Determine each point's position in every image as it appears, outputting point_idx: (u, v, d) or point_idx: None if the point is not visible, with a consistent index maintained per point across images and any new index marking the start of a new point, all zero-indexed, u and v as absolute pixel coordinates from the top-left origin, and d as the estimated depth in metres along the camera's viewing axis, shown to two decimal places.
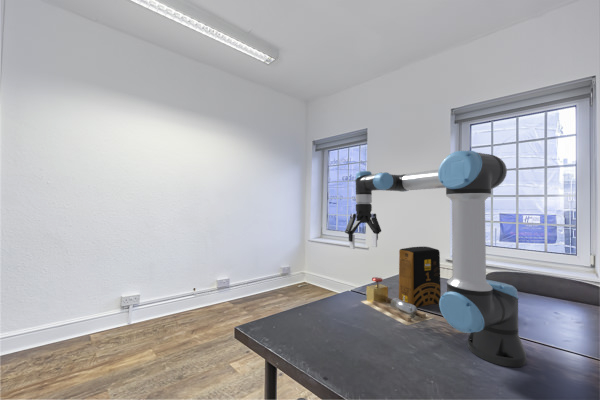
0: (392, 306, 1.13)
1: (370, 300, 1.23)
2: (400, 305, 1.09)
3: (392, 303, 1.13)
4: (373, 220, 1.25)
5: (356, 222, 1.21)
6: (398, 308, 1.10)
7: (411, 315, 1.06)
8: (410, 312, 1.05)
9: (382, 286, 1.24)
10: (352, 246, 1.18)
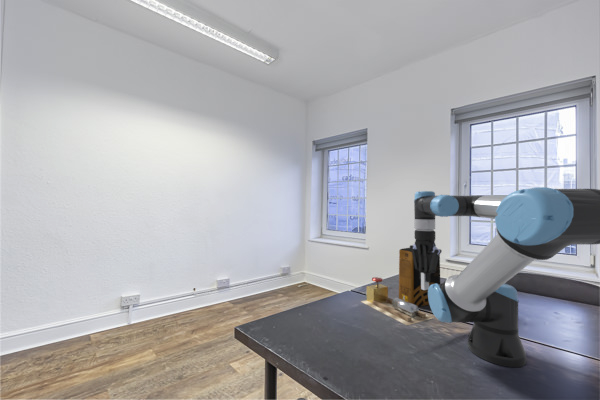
0: (393, 304, 1.13)
1: (370, 300, 1.23)
2: (403, 303, 1.10)
3: (394, 301, 1.14)
4: None
5: None
6: (400, 306, 1.10)
7: (412, 314, 1.06)
8: (411, 310, 1.06)
9: (382, 286, 1.24)
10: None
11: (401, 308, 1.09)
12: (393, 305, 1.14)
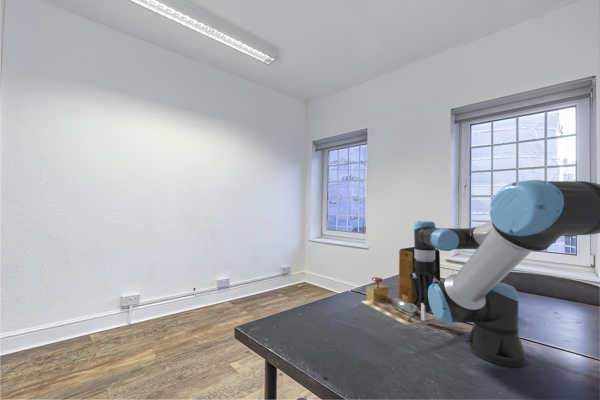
0: (393, 304, 1.13)
1: (370, 300, 1.23)
2: (403, 303, 1.10)
3: (394, 301, 1.14)
4: None
5: None
6: (399, 306, 1.10)
7: (412, 314, 1.06)
8: (411, 310, 1.06)
9: (382, 286, 1.24)
10: None
11: (401, 308, 1.09)
12: (393, 305, 1.14)
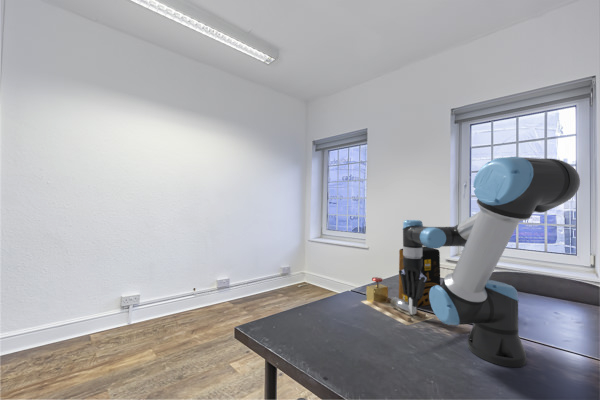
0: (392, 303, 1.14)
1: (370, 300, 1.23)
2: (401, 302, 1.11)
3: (392, 300, 1.14)
4: None
5: None
6: (398, 305, 1.11)
7: None
8: None
9: (382, 286, 1.24)
10: None
11: (399, 307, 1.10)
12: (391, 304, 1.14)
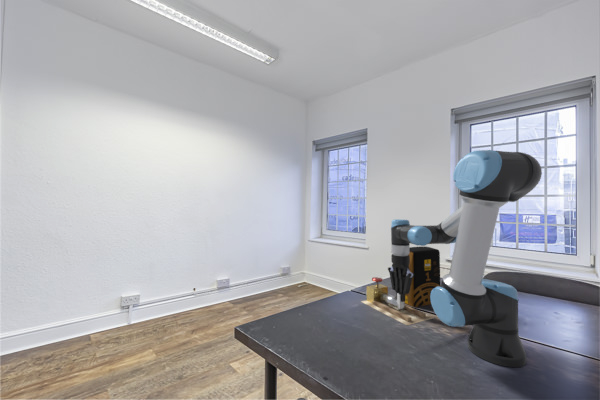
0: (382, 298, 1.20)
1: (370, 300, 1.23)
2: (390, 297, 1.16)
3: (382, 295, 1.20)
4: None
5: None
6: (387, 300, 1.17)
7: None
8: None
9: (382, 286, 1.24)
10: None
11: (388, 302, 1.16)
12: (381, 299, 1.20)
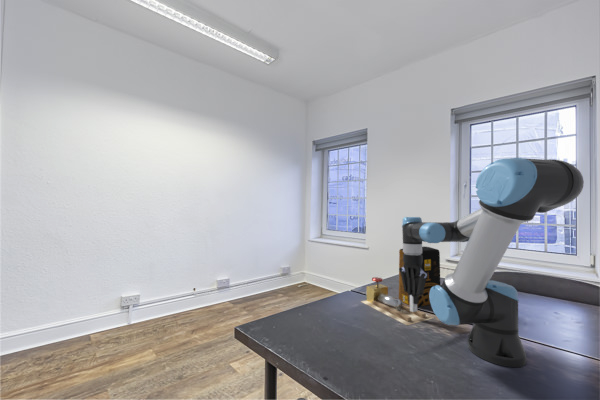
0: (379, 301, 1.19)
1: (370, 300, 1.23)
2: (388, 299, 1.15)
3: (379, 298, 1.19)
4: None
5: None
6: (385, 303, 1.16)
7: (397, 309, 1.12)
8: (396, 305, 1.12)
9: (382, 286, 1.24)
10: None
11: (387, 305, 1.15)
12: None
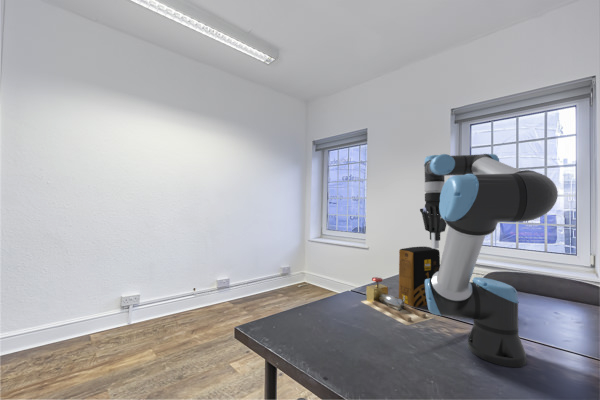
0: (381, 298, 1.19)
1: (370, 300, 1.23)
2: (390, 297, 1.16)
3: (381, 296, 1.20)
4: None
5: None
6: (387, 300, 1.16)
7: (398, 307, 1.12)
8: (398, 303, 1.12)
9: (382, 286, 1.24)
10: None
11: (388, 302, 1.16)
12: (380, 300, 1.20)
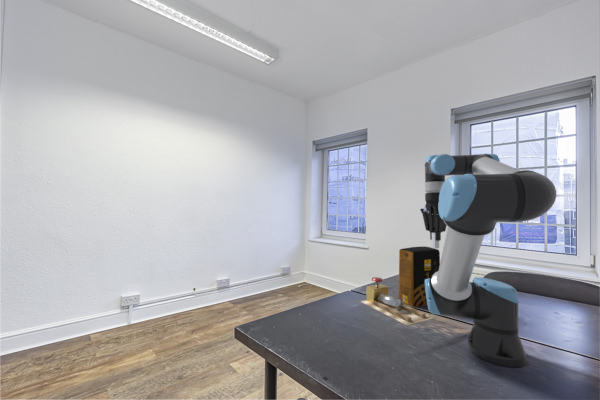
0: (379, 301, 1.19)
1: (370, 300, 1.23)
2: (388, 299, 1.15)
3: (379, 298, 1.19)
4: None
5: None
6: (385, 302, 1.16)
7: (397, 309, 1.12)
8: (396, 305, 1.12)
9: (382, 286, 1.24)
10: None
11: (387, 304, 1.15)
12: None
